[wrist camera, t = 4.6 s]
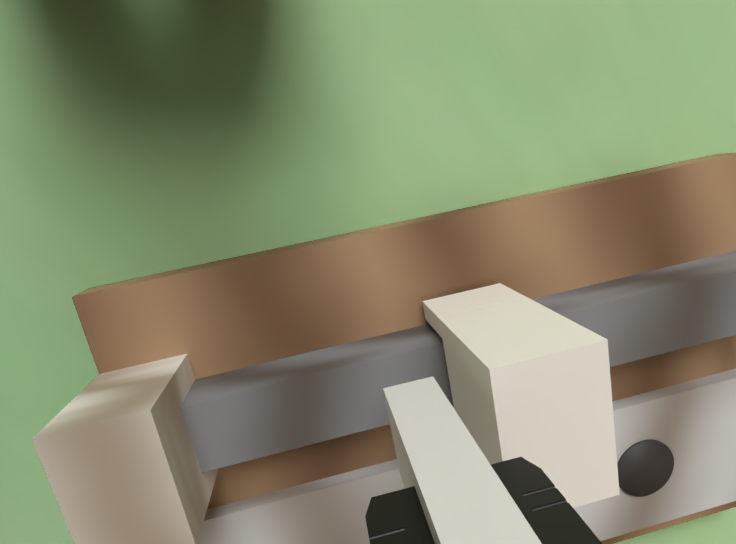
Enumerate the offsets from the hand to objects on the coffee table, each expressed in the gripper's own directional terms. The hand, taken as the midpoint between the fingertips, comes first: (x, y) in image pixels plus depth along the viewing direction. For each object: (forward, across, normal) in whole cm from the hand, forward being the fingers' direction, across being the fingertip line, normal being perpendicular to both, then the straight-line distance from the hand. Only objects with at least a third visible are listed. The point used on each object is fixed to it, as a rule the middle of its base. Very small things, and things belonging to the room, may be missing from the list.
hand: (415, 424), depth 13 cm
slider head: (+4, +3, -2) cm, 5 cm away
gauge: (+5, +3, -3) cm, 6 cm away
